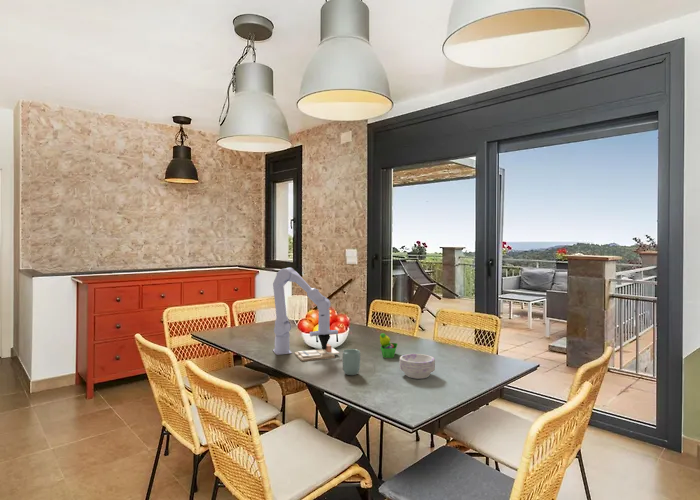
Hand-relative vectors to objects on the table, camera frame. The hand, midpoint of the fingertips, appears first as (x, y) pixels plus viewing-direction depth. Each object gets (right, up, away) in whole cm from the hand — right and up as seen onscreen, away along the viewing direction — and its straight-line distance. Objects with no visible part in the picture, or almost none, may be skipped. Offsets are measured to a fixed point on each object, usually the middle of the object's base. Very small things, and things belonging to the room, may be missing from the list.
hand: (323, 349), depth 213 cm
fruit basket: (+33, -4, +1) cm, 33 cm away
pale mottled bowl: (+42, -4, -31) cm, 53 cm away
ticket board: (-5, -3, -2) cm, 6 cm away
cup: (+14, -4, -30) cm, 33 cm away
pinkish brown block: (+4, -2, +1) cm, 4 cm away
